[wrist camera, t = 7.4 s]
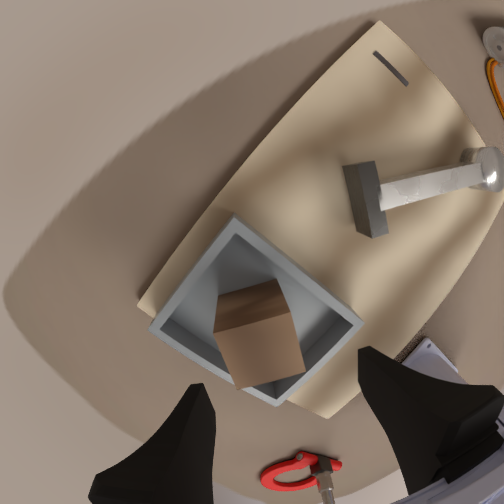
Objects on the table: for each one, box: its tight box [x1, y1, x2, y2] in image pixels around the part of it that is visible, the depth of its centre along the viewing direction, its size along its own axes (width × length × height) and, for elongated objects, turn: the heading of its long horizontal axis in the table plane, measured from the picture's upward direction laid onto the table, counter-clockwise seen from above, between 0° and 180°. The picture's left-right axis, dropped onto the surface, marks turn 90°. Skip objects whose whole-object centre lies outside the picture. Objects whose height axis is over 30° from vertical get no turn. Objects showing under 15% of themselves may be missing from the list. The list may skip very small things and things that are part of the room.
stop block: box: [213, 279, 306, 390], centre depth 17 cm, size 4×4×5 cm
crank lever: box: [342, 147, 504, 239], centre depth 16 cm, size 15×4×3 cm, turn 106°
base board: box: [137, 20, 504, 419], centre depth 19 cm, size 20×29×1 cm
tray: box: [148, 213, 365, 407], centre depth 18 cm, size 11×9×2 cm
